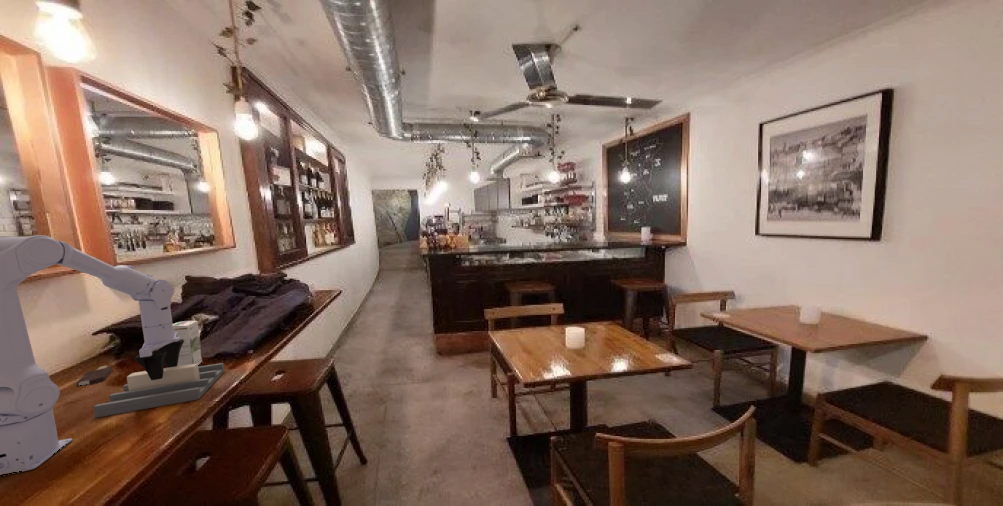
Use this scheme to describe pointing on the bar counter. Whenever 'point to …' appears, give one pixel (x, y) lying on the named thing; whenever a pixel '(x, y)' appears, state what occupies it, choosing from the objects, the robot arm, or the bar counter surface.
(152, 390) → the drying rack
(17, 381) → the robot arm
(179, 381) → the clay strip
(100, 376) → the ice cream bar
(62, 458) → the bar counter surface
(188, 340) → the syrup box
